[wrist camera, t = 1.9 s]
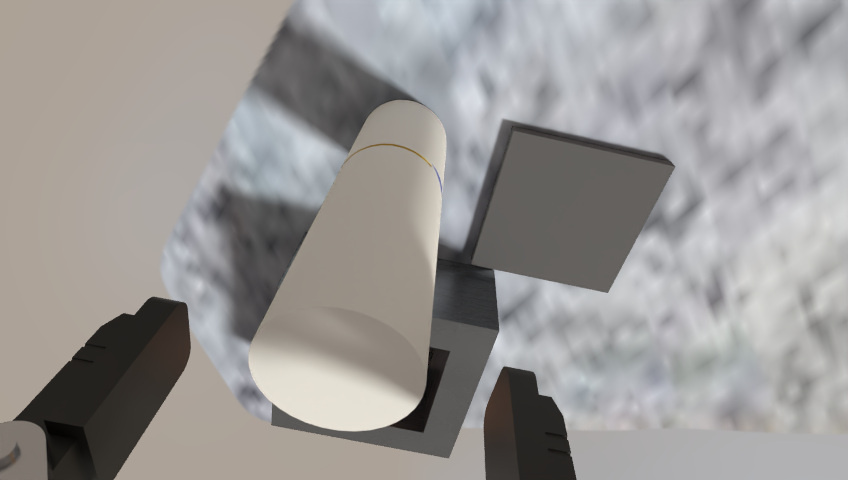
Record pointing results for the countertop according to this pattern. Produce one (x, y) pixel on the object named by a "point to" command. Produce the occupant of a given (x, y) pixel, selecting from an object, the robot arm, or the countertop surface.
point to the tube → (361, 283)
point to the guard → (437, 364)
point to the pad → (567, 209)
